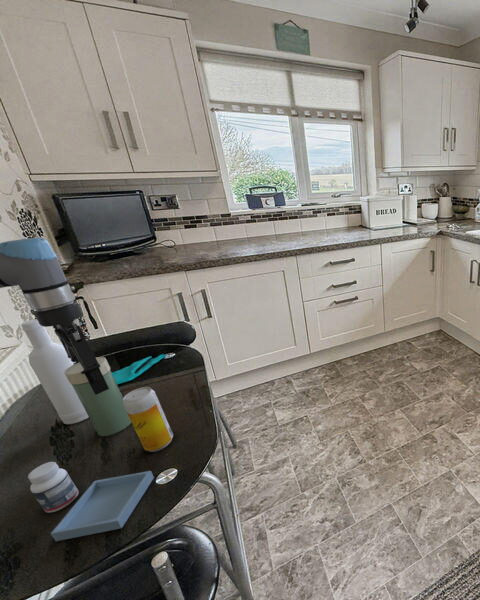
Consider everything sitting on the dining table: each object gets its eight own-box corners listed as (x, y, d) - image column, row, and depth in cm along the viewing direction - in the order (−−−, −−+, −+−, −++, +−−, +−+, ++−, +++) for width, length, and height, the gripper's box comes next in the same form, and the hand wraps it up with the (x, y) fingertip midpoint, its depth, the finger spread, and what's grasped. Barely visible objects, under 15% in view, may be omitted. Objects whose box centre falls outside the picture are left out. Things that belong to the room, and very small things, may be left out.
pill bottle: (42, 505, 67) (20, 473, 64) (75, 485, 71) (56, 455, 68) (48, 518, 64) (25, 485, 61) (82, 497, 68) (63, 465, 65)
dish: (55, 541, 60) (50, 533, 59) (98, 487, 70) (94, 480, 69) (121, 528, 61) (117, 520, 60) (154, 477, 71) (150, 470, 71)
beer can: (144, 443, 81) (120, 394, 76) (172, 430, 85) (152, 382, 80) (145, 457, 77) (121, 406, 72) (175, 443, 80) (154, 393, 75)
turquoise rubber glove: (74, 401, 101) (71, 395, 100) (76, 383, 111) (73, 378, 110) (172, 366, 117) (169, 360, 116) (166, 353, 127) (164, 348, 126)
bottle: (56, 422, 92) (0, 327, 81) (87, 404, 99) (40, 314, 88) (74, 426, 90) (19, 329, 79) (105, 407, 97) (59, 316, 86)
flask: (90, 438, 85) (57, 378, 78) (110, 418, 92) (81, 362, 85) (122, 433, 86) (92, 373, 79) (139, 414, 93) (113, 357, 86)
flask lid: (104, 377, 81) (99, 367, 80) (63, 388, 78) (58, 377, 77) (114, 363, 88) (109, 353, 87) (77, 372, 85) (71, 362, 84)
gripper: (90, 305, 73) (129, 389, 81) (64, 294, 84) (100, 369, 93) (44, 318, 68) (91, 407, 76) (23, 304, 79) (65, 383, 87)
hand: (96, 386), depth 84 cm, fingers closed on flask lid, 8 cm apart
